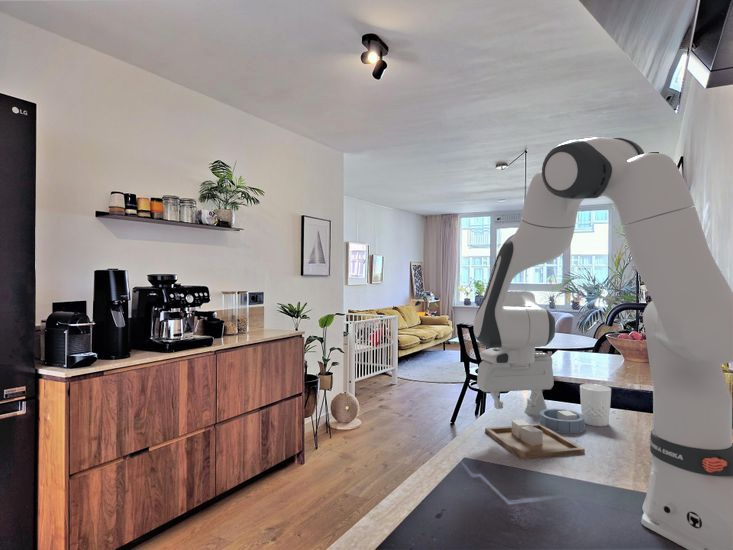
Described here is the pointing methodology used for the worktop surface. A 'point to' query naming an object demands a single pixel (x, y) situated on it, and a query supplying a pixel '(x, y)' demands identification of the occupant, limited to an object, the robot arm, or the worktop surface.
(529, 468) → the worktop surface
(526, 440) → the cream white small block
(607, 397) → the white cup
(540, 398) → the flask
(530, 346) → the robot arm
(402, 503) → the worktop surface
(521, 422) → the cream small block
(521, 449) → the tray
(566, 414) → the white small block
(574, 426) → the bowl
